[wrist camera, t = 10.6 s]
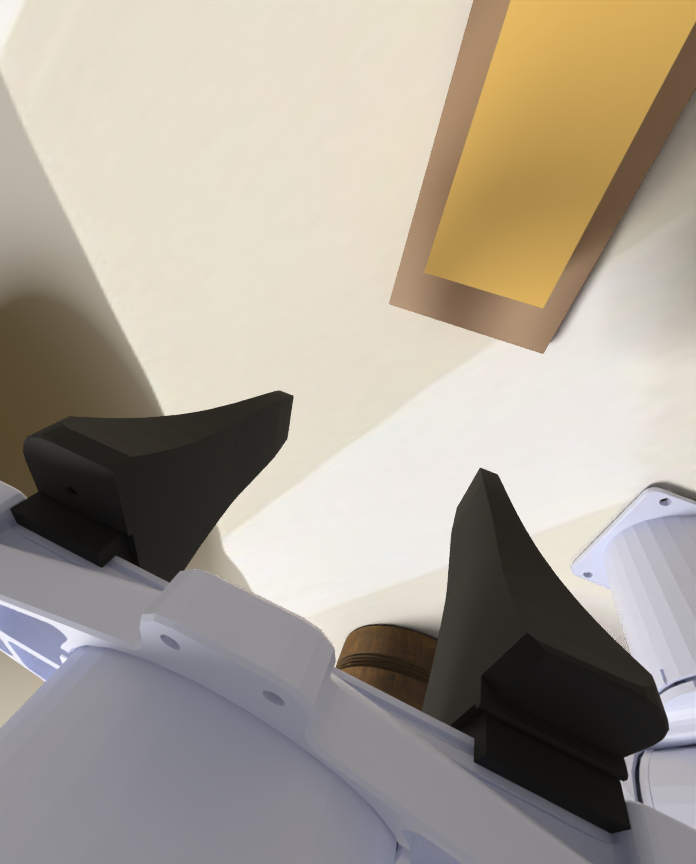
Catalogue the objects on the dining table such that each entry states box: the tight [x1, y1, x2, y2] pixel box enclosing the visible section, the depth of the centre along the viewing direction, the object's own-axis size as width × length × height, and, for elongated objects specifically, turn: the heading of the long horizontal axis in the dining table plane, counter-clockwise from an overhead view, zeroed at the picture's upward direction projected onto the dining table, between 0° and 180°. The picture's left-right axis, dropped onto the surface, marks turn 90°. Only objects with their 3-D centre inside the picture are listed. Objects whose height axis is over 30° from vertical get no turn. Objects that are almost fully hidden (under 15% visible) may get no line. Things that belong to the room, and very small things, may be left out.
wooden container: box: [336, 625, 438, 711], centre depth 28 cm, size 15×15×22 cm
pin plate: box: [389, 0, 696, 354], centre depth 13 cm, size 8×14×4 cm, turn 167°
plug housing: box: [424, 0, 696, 308], centre depth 12 cm, size 4×9×4 cm, turn 167°
